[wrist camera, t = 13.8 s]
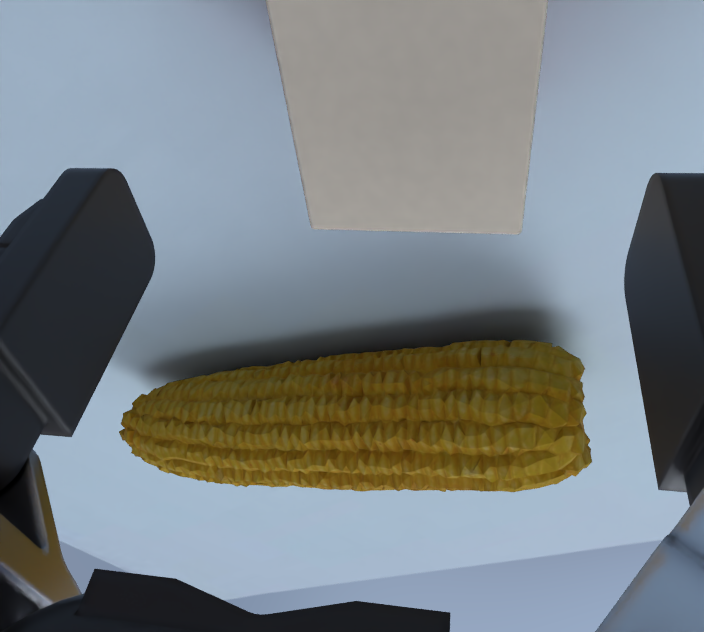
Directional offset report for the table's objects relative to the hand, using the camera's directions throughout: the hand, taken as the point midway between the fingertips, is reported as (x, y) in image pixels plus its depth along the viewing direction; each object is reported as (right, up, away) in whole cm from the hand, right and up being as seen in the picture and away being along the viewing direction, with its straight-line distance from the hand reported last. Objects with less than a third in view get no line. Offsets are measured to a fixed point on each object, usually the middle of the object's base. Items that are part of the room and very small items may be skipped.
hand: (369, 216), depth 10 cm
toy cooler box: (+2, +7, +6) cm, 9 cm away
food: (0, -4, +19) cm, 20 cm away
